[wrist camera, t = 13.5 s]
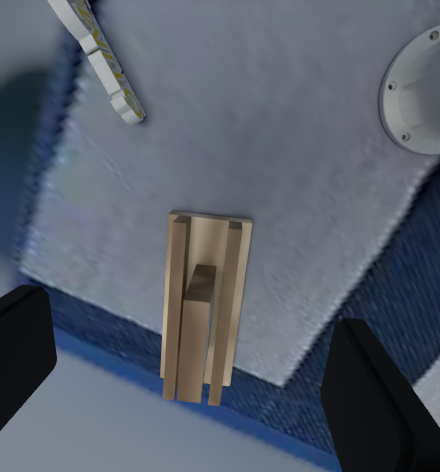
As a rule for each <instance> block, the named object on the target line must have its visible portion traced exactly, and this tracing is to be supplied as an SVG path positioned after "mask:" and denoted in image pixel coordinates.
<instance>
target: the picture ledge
mask: <svg viewBox="0 0 440 472" xmlns="http://www.w3.org/2000/svg"><path fill="white" fill-rule="evenodd" d="M251 230H252V220H251V219H242V218H233V217H224V216H215V215H206V214H197V213H188V212H179V211H171V212H170V213H169V216H168V236H167V256H166V275H165V295H164V314H163V334H162V353H161V373H160V377H161V378H164V387H163V399H168V400H174V399H175V395H176V391H177V387H178V379H179V364H180V348H181V333H182V317H183V301H184V297H185V295H186V292H187V289H188V286H189V283H190V281H191V278H192V275H193V272H194V269H195V267H196V264H201V265H210V266H216V275H215V286H214V296H213V306H212V316H211V326H210V337H209V347H208V354H207V361H206V368H205V375H204V382H203V383H208V384H210V393H209V402H208V405H214V406H220V399H221V391H222V385H224V386H230V381H231V373H232V366H233V359H234V352H235V345H236V337H237V330H238V323H239V316H240V309H241V301H242V294H243V287H244V280H245V273H246V265H247V258H248V251H249V244H250V237H251Z"/></svg>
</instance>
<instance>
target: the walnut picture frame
mask: <svg viewBox="0 0 440 472" xmlns="http://www.w3.org/2000/svg"><path fill="white" fill-rule="evenodd" d="M215 275H216V266H210V265H201V264H196V267H195V269H194V272H193V275H192V278H191V281H190V283H189V286H188V289H187V292H186V295H185V297H184V301H183V317H182V333H181V348H180V364H179V379H178V395H177V400H180V401H188V402H196V403H201V396H202V389H203V382H204V375H205V368H206V361H207V354H208V347H209V337H210V326H211V316H212V306H213V296H214V286H215Z"/></svg>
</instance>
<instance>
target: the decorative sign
mask: <svg viewBox="0 0 440 472" xmlns="http://www.w3.org/2000/svg"><path fill="white" fill-rule="evenodd" d="M48 2H49V3H50V5H51V7H52V8H53V10H54V11H55V13H56V14H57V16H58V17H59V18H60V20H61V21H62V22H63V24H64V25H65V26H66V28H67V29H68V30H69V31H70V32H71V34H72V35H73V36H74V37H75V38H76V39H77V40H78V41H79V43H80V45H81V46H82V48H83V50H84V52H85V53H86V54H88V55H90V56H88V59H89V60H90V62H91V64H92V65H93V67H94V69H95V71H96V73H97V74H98V76H99V78H100V80H101V81H102V83H103V85H104V87H105V88H106V90H107V92H108V94H109V95H110V96H112V99H113V100H112V101H111V104H112V106H113V107H114V109H115V110H116V111H117V112H118V113H119V114H120V115H121V116H122V118H123V119H124V120H125V122H126V123H127V124H128V125H130V126H133V125H135V124H137V123H139V122H141V121H143V117H145V112H144V110H143V108H142V106H141V104H140V102H139V101H138V99H137V97H136V95H135V93H134V91H133V89H132V87H131V85H130V84H129V82H128V80H127V78H126V76H125V74H124V73H123V74H121V71H122V69H121V67H120V65H119V63H118V61H117V59H116V57H115V56H114V54H113V52H112V50H111V48H110V46H109V44H108V42H107V40H106V38H105V37H104V35H103V33H102V31H101V29H100V27H99V25H98V23H97V22H96V20H95V17H94V15H93V13H92V12H91V10H90V9H91V7H90V5H89V3H88V1H87V0H48Z"/></svg>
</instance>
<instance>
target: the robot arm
mask: <svg viewBox="0 0 440 472" xmlns="http://www.w3.org/2000/svg"><path fill="white" fill-rule="evenodd" d="M388 86H390V90H389V88H388ZM379 111H380V117H381V120H382V124H383V126H384V128H385V130H386V132H387V134H388V135H389V136H390V138H391V139H392V140H393V141H394V142H395V143H396V144H398V145H399V146H400V147H402V148H403V149H406V150H408V151H410V152H413V153H417V154H422V155H437V154H440V24H439V25H437V26H434V27H432V28H430V29H428V30H426V31H425V32H423V33H421V34H420V35H418V36H417V37H415V38H414V39H413V40H411V41H410V42H409V43H408V44H406V45H405V47H404V48H403V49H402V50H401V51H400V52H399V53H398V54H397V55H396V57H395V58H394V60H393V61H392V63H391V64H390V66H389V68H388V70H387V72H386V74H385V76H384V78H383V82H382V85H381V89H380V96H379ZM402 136H404V138H403V140H402ZM56 362H57V354H56V347H55V339H54V332H53V324H52V316H51V309H50V301H49V295H48V293H47V292H46V291H45V290H44V288H43V287H41V286H32V285H21V286H19V287H17V288H15V289H14V290H12V291H11V292H9V293H7V294H6V295H4V296H2V297H1V298H0V431H1V430H2V428H3V427H4V426H5V425H6V424H7V423H8V421H9V420H10V419H11V418H12V417H13V416H14V415H15V413H16V412H17V411H18V410H19V409H20V408H21V406H22V405H23V404H24V403H25V402H26V400H27V399H28V398H29V397H30V396H31V395H32V394H33V393H34V391H35V390H36V389H37V388H38V386H40V384H41V383H42V382H43V381H44V380H45V379H46V377H47V376H48V375H49V374H50V373H51V371H52V370H53V369H54V367H55V365H56ZM321 402H322V406H323V409H324V412H325V416H326V419H327V422H328V426H329V429H330V432H331V436H332V439H333V442H334V446H335V449H336V452H337V456H338V459H339V462H340V466H341V469H342V472H440V427H439V426H438V425H437V423H436V422H435V420H434V419H433V417H432V416H431V415H430V413H429V412H428V410H427V409H426V407H425V406H424V404H423V403H422V402H421V400H420V399H419V397H418V396H417V394H416V393H415V392H414V390H413V389H412V387H411V386H410V384H409V383H408V381H407V380H406V379H405V377H404V376H403V374H402V373H401V372H400V371H399V369H398V368H397V366H396V365H395V364H394V362H393V361H392V359H391V358H390V356H389V355H388V353H387V352H386V351H385V349H384V348H383V346H382V345H381V343H380V342H379V340H378V339H377V338H376V336H375V335H374V333H373V332H372V330H371V329H370V327H369V326H368V325H367V323H366V322H365V321H364V320H363V319H355V318H345V317H344V318H342V320H341V322H338V321H337V322H336V323H335V326H334V331H333V336H332V340H331V345H330V349H329V354H328V359H327V363H326V368H325V372H324V377H323V382H322V386H321Z"/></svg>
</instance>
